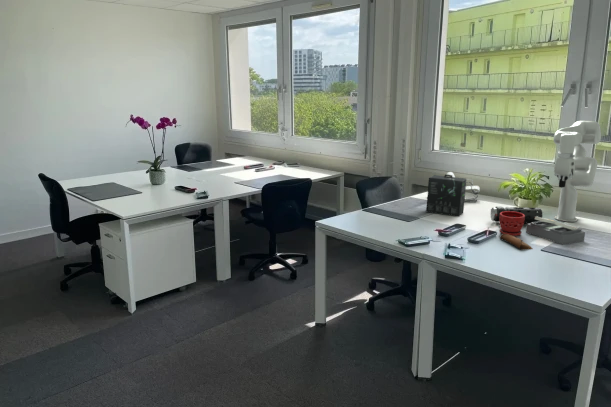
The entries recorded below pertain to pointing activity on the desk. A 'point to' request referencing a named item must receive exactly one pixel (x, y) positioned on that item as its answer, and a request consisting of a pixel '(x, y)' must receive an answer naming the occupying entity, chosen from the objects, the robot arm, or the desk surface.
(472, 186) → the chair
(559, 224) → the rocker
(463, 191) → the headset box
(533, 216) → the muzzle brake
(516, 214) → the plant pot
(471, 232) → the desk surface
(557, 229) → the panel
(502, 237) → the brown pointed cylinder
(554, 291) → the desk surface
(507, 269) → the desk surface
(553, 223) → the plate
